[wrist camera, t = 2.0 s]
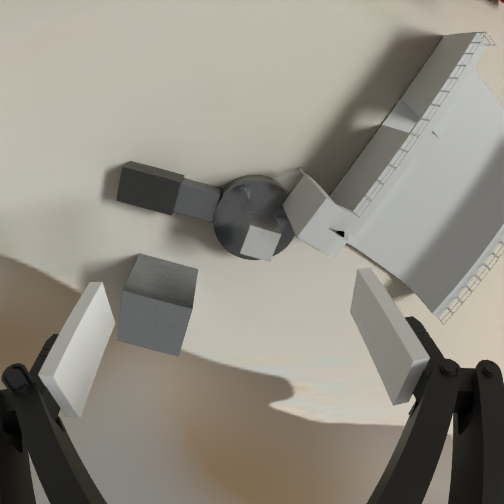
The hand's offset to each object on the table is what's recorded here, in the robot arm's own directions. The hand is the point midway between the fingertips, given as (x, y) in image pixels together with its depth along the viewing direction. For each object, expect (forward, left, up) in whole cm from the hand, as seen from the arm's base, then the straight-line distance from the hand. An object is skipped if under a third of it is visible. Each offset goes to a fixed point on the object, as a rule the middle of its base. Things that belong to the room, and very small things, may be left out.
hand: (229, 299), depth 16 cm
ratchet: (+4, -3, -22) cm, 22 cm away
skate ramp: (+23, +11, -22) cm, 33 cm away
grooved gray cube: (-4, -16, -22) cm, 27 cm away
